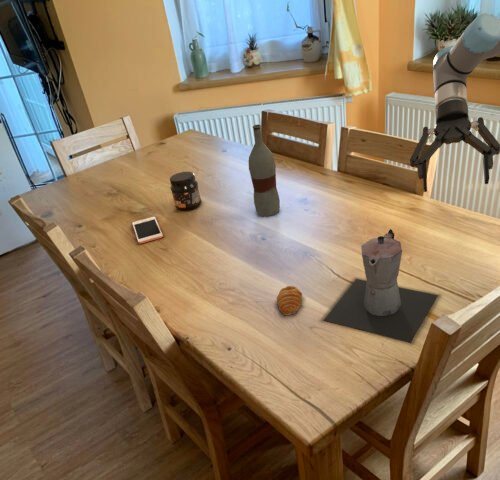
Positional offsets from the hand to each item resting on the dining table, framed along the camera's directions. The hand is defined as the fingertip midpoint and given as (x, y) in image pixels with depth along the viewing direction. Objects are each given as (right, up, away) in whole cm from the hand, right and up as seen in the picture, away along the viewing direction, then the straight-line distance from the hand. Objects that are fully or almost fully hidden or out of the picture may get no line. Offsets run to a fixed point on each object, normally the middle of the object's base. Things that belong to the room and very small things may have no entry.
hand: (455, 185), depth 118 cm
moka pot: (-16, -28, +7) cm, 33 cm away
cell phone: (-86, +2, +62) cm, 107 cm away
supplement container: (-73, +14, +75) cm, 105 cm away
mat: (-16, -29, +6) cm, 34 cm away
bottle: (-43, +8, +60) cm, 74 cm away
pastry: (-38, -28, +13) cm, 49 cm away
